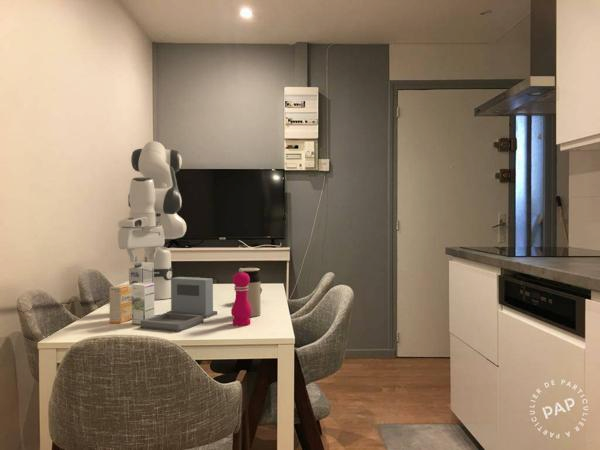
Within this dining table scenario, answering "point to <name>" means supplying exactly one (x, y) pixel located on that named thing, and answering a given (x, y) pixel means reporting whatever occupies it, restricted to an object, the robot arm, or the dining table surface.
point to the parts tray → (172, 322)
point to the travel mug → (254, 291)
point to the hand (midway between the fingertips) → (143, 260)
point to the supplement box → (120, 303)
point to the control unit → (192, 296)
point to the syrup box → (142, 302)
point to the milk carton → (141, 273)
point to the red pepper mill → (241, 299)
